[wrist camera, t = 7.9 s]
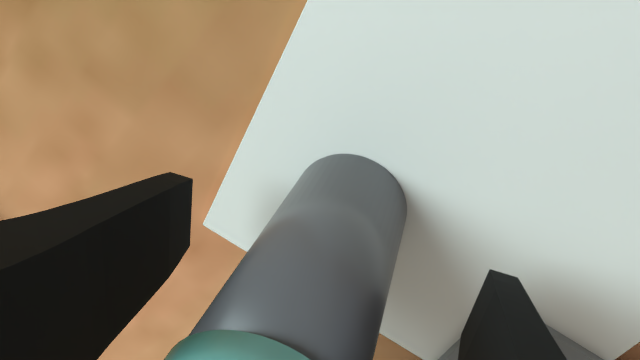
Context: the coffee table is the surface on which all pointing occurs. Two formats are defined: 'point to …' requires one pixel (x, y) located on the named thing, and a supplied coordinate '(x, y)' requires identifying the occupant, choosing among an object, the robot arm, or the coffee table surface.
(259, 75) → the coffee table surface
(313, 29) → the paper
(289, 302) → the grey teal-capped tube
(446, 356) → the picture frame
